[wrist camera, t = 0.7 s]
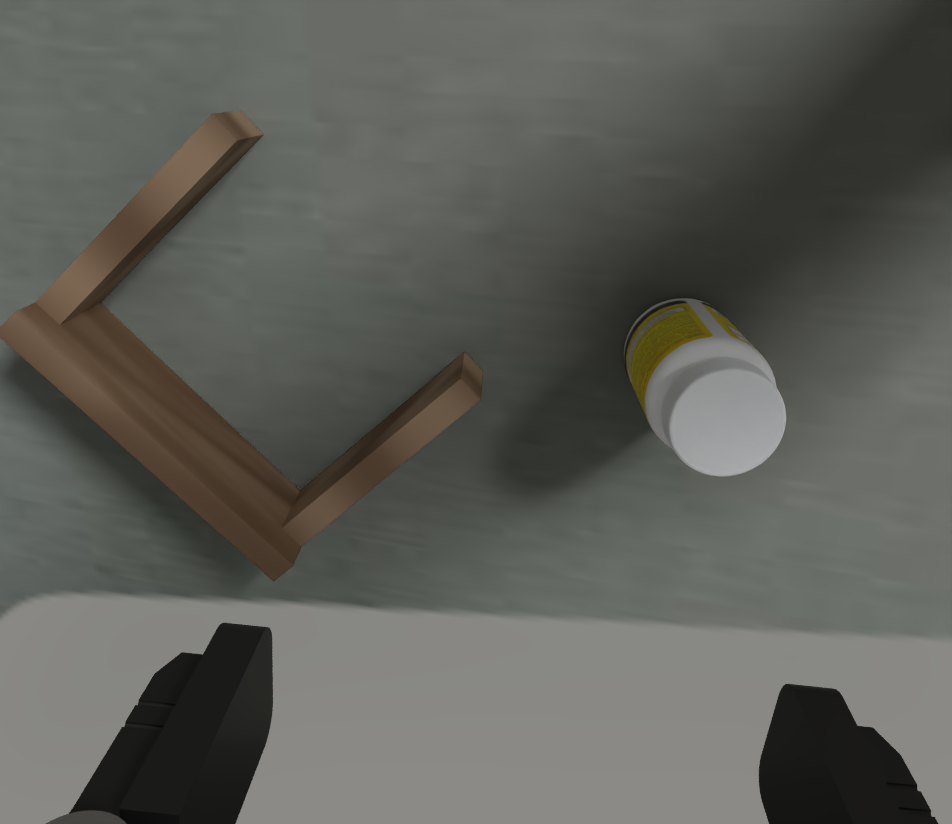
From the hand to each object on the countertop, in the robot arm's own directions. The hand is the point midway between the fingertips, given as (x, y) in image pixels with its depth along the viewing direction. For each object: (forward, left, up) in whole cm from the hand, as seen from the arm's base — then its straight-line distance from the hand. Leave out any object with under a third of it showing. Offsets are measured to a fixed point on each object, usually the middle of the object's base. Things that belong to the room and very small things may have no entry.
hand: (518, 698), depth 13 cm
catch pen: (+8, -6, -24) cm, 26 cm away
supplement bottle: (-4, +6, -24) cm, 25 cm away
